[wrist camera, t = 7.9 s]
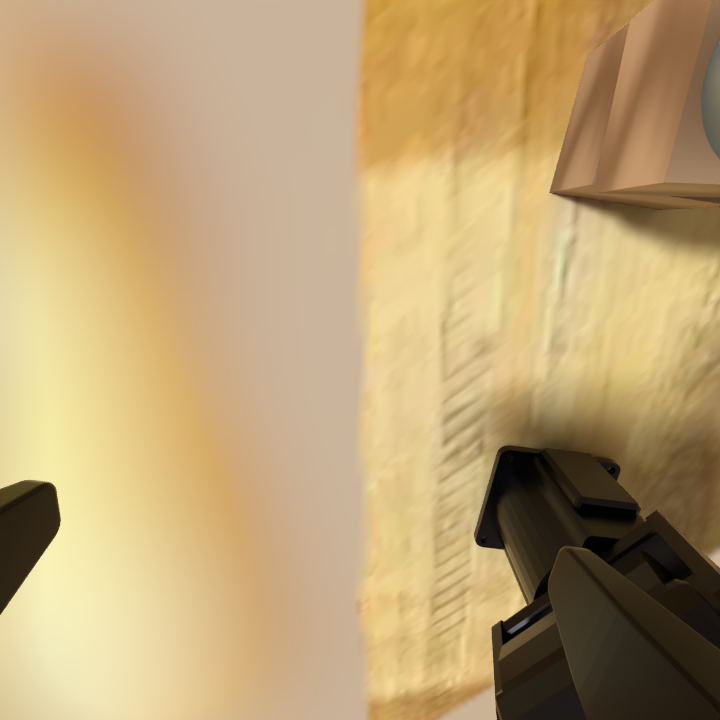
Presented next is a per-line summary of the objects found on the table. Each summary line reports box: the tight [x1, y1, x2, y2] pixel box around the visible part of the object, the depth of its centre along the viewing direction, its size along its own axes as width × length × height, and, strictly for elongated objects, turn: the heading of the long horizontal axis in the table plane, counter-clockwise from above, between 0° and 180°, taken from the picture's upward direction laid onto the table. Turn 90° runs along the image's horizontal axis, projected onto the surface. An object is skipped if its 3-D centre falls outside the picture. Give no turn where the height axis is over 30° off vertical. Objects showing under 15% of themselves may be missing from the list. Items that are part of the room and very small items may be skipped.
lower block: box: [549, 23, 720, 210], centre depth 15 cm, size 5×5×4 cm
